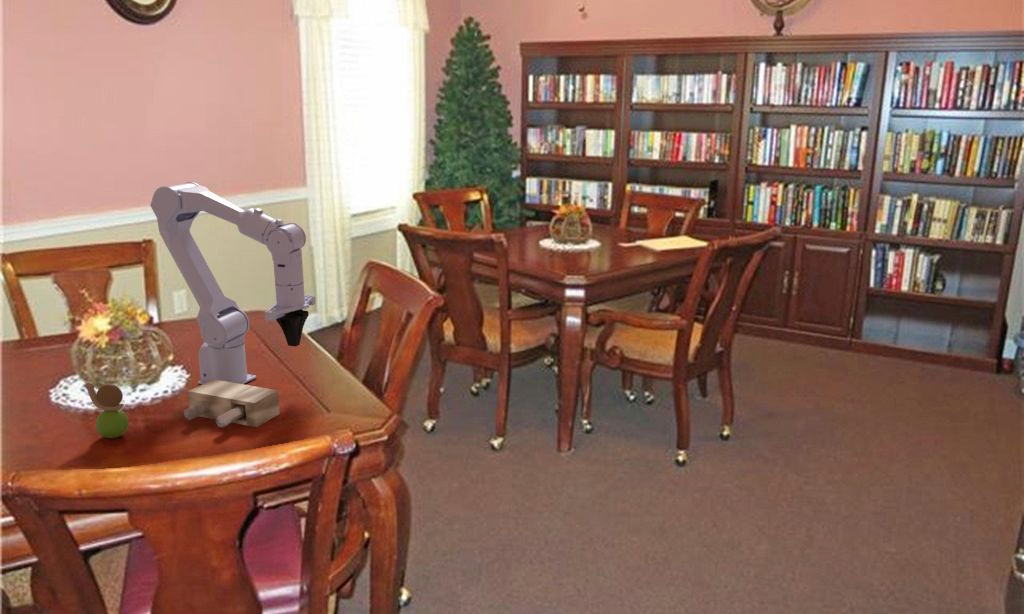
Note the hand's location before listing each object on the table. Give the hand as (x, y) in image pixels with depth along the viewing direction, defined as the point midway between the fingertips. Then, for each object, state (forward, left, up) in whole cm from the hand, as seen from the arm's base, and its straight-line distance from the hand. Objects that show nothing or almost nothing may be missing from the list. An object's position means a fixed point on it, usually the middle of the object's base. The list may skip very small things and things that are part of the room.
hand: (293, 345), depth 165 cm
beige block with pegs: (-3, -18, -10) cm, 21 cm away
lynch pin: (+1, -18, -9) cm, 20 cm away
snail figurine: (-17, -33, -10) cm, 38 cm away
